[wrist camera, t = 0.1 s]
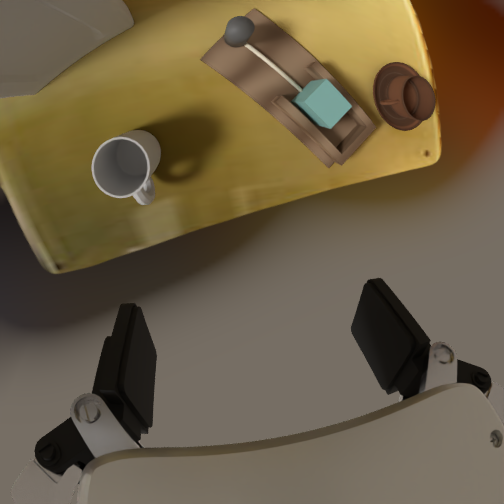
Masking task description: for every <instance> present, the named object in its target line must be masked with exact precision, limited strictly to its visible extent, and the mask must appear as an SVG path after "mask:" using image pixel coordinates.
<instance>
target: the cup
mask: <svg viewBox="0 0 504 504" xmlns="http://www.w3.org/2000/svg"><path fill="white" fill-rule="evenodd" d="M160 157H161V148H160V145H159V142H158V141H157V139H156V138H155V137H154V136H153V135H152V134H151V133H149V132H146V131H143V130H133V131H129V132H127V133H124V134H122V135H119V136H117V137H114V138H112V139H110V140H107V141H106V142H104V143H103V144H102V145H101V146H100V147H99V148H98V150H97V151H96V153H95V155H94V158H93V161H92V174H93V178H94V180H95V183H96V184H97V186H98V187H99V188H100V189H101V190H102V191H103V192H104V193H105V194H107V195H110V196H112V197H116V198H125V197H129V196H132V195H133V196H134V198H135V199H136V200H137V202H138V203H140V204H141V205H149V204H150V203H151V202H152V201H153V200H154V198H155V187H154V183H153V180H152V178H151V175H152V174H153V172H154V171H155V170H156V168H157V166H158V164H159V162H160Z"/></svg>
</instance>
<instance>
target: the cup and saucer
mask: <svg viewBox="0 0 504 504" xmlns="http://www.w3.org/2000/svg"><path fill="white" fill-rule="evenodd" d="M373 96H374V101H375V105H376V107H377V110H378V112H379V114H380V115H381V117H382V118H383V119H384V120H385V121H386V122H387V123H388V124H389V125H390V126H392V127H394V128H396V129H398V130H403V131H407V130H412V129H414V128H416V127H417V126H418V125H419V124H420V123H421V122H422V121H424V120H427V119H428V118H430V117H431V115H432V114H433V112H434V109H435V95H434V91H433V89H432V87H431V85H430V84H429V82H428V81H427V80H426V79H424V78H423V77H421V76H419V74H418V73H417V72H416V71H415V70H414V69H413V68H411V67H410V66H408V65H406V64H404V63H400V62H393V63H389V64H387V65H385V66H384V67H382V68H381V69H380V70H379V72H378V73H377V75H376V77H375V80H374V85H373Z"/></svg>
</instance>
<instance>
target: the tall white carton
mask: <svg viewBox="0 0 504 504" xmlns="http://www.w3.org/2000/svg"><path fill="white" fill-rule="evenodd" d="M133 24H134V20H133V18H132V16H131V13H130V11H129V9H128V7H127V5H126V4H125V3H124V2H123V1H122V0H0V98H6V97H14V96H24V95H35V94H36V93H37V92H39V91H40V90H41V89H42V88H43V87H44V86H45V85H47V84H48V83H49V82H50V81H51V80H53V79H54V78H55V77H56V76H58V75H59V74H60V73H61V72H63V71H64V70H65V69H67V68H68V67H69V66H71V65H72V64H73V63H75V62H76V61H77V60H79V59H80V58H82V57H83V56H85V55H86V54H88V53H89V52H91V51H92V50H94V49H95V48H97V47H98V46H100V45H101V44H103V43H105V42H106V41H108V40H110V39H111V38H113V37H115V36H117V35H118V34H120V33H122V32H124V31H125V30H127V29H129V28H131V27H132V26H133Z"/></svg>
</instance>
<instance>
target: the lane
mask: <svg viewBox="0 0 504 504" xmlns="http://www.w3.org/2000/svg"><path fill="white" fill-rule="evenodd" d="M244 17H247V18H249V19H251V20H252V21H253V23H254V26H255V29H254V32H253V34H252V35H251V36H250V38H249V39H248V41H247V43H248V44H250V45H251V46H252V47H254V48H255V49H256V50H258V51H259V52H260V53H261V54H263V55H264V56H265V57H266V58H268V59H269V60H270V61H271V62H272V63H274V64H275V65H276V66H277V67H278V68H279V69H281V70H282V71H283V72H284V73H285V74H286V75H288V76H289V77H290V78H291V79H292V80H293V81H294V82H295V83H296V84H297V85H299V86H300V87H301V88H302V89H303V88H304V87H305V86H306V85H307V84H308V83H309V82H310V81H315V80H321V79H327V80H328V81H329V82H330V83H331V84H332V85H333V86H334V87H335V88H336V89H337V90H338V91H339V92H340V93H341V94H342V95H343V97H344V98H345V99H346V100H347V101H348V102H349V103H350V104H351V106H352V107H351V108H350V109H349V110H348V111H347V112H346V113H345V114H344V115H343V116H342V118H341V119H340V120H339V121H338V122H337V123H336V124H335V125H334V126H333V127H332V128H331V129H329V128H326V127H322V126H318V125H315V124H314V123H313V122H312V121H311V120H310V119H309V118H308V117H307V116H305V115H304V114H303V113H302V112H301V111H300V110H299V109H298V108H297V107H296V106H295V105H294V104H293V103H292V102H291V101H292V100H293V99H294V98H295V97H296V96H297V95H298V94H299V93H300V92H299V91H298V90H297V89H296V88H295V87H294V86H293V85H291V84H290V83H289V82H288V81H287V80H286V79H285V78H284V77H282V76H281V75H280V74H279V73H278V72H277V71H275V70H274V69H273V68H272V67H271V66H270V65H268V64H267V63H266V62H265V61H263V60H262V59H261V58H260V57H258V56H257V55H256V54H255V53H253V52H252V51H251V50H249V49H248V48H247V47H245V46H244V45H243V46H241V47H237V48H235V47H231V46H229V45H227V44H226V43H225V41H224V35H223V36H222V37H221V38H220V39H219V40H218V41H217V42H216V43H215V44H214V45H213V46H212V47H211V48H210V49H209V50H208V51H207V52H206V53H205V54H204V56H203V57H202V58H201V59H200V60H201V61H203V62H204V63H206V64H207V65H209V66H210V67H211V68H213V69H214V70H216V71H217V72H218V73H220V74H221V75H222V76H224V77H225V78H226V79H228V80H229V81H230V82H232V83H233V84H234V85H236V86H237V87H238V88H240V89H241V90H242V91H243V92H245V93H246V94H247V95H248V96H250V97H251V98H252V99H253V100H255V101H256V102H257V103H258V104H259V105H261V106H262V107H263V108H264V109H265V110H267V111H268V112H269V113H270V114H271V115H272V116H274V117H275V118H276V119H277V120H278V121H279V122H280V123H282V124H283V125H284V126H285V127H286V128H287V129H288V130H289V131H290V132H292V133H293V134H294V135H295V136H296V137H297V138H298V139H299V140H300V141H301V142H302V143H303V144H304V145H305V146H306V147H308V148H309V149H310V150H311V151H312V152H313V153H314V154H315V155H316V156H317V157H318V158H319V159H320V160H321V161H322V162H323V163H324V164H325V165H326V166H327V167H328V168H329V167H330V166H331V165H332V164H333V163H334V162H336V163H338V164H340V165H343V163H344V162H345V161H346V160H347V159H348V158H349V157H350V156H351V155H352V154H353V153H354V151H355V150H356V149H357V148H358V147H359V146H360V145H361V144H362V143H363V142H364V140H365V139H366V138H367V137H368V136H369V135H370V134H371V133H372V132H373V131H374V129H375V128H376V126H375V125H374V124H373V122H372V120H371V119H370V118H369V117H368V116H367V114H366V113H365V112H364V111H363V109H362V108H361V107H360V106H359V105H358V104H357V102H356V101H355V100H354V99H353V98H352V97H351V95H350V94H349V93H348V92H347V91H346V90H345V89H344V88H343V87H342V86H341V84H340V83H339V82H338V81H337V80H336V79H335V78H334V77H333V76H332V75H331V74H330V73H329V72H328V71H327V70H326V69H325V68H324V67H323V66H322V65H321V64H320V63H319V62H318V61H317V60H316V59H315V58H314V57H313V56H312V55H311V54H310V53H308V52H307V51H306V50H305V49H304V48H303V47H302V46H301V45H300V44H298V43H297V42H296V41H295V40H294V39H293V38H291V37H290V36H289V35H288V34H287V33H286V32H284V31H283V30H282V29H281V28H279V27H278V26H277V25H276V24H274V23H273V22H272V21H270V20H269V19H268V18H267V17H265V16H264V15H263V14H261V13H260V12H258V11H257V10H256V9H252V10H251V11H250V12H249V13H248V14H246V15H245V16H244Z"/></svg>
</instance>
